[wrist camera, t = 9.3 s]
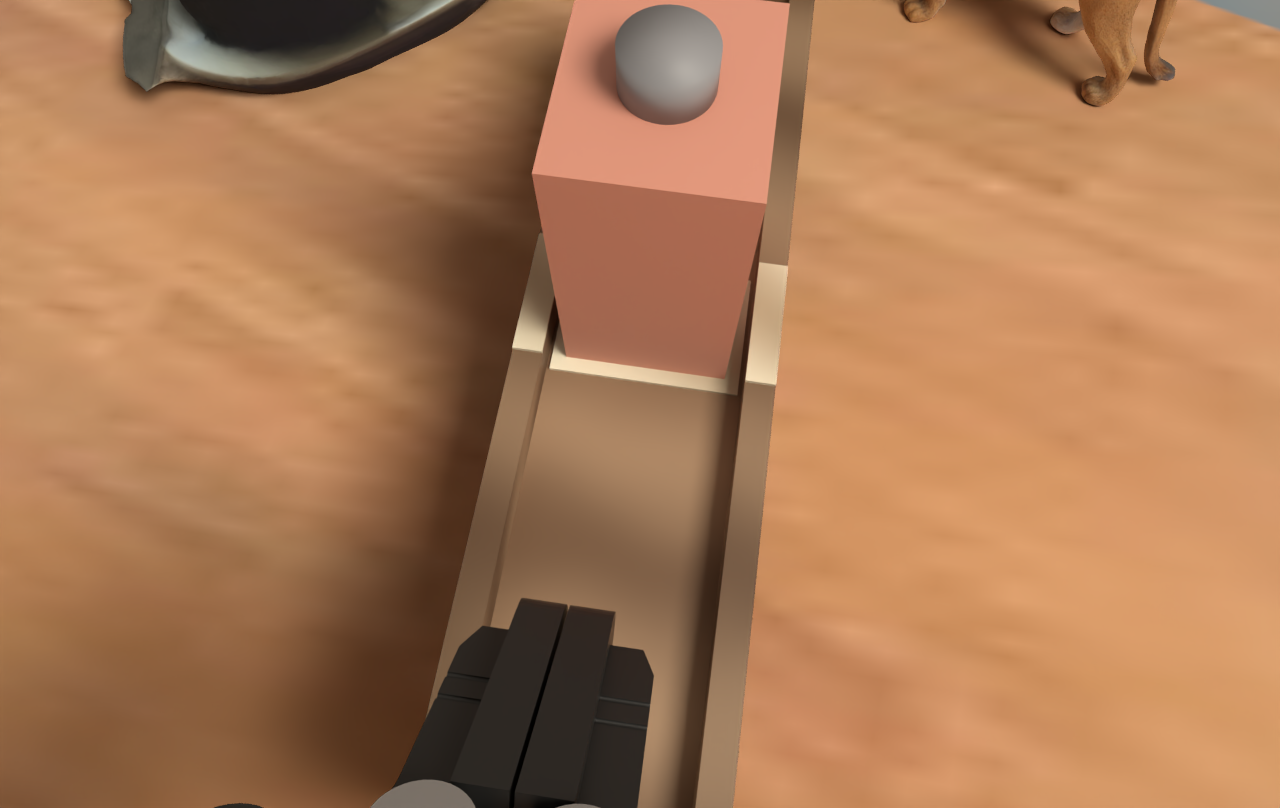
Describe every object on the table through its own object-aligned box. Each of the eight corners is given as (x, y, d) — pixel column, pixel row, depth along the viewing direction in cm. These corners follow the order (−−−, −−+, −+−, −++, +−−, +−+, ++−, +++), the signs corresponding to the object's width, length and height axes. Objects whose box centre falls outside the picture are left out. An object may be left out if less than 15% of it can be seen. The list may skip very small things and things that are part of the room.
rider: (724, 379, 23) (774, 169, 14) (566, 357, 23) (524, 137, 14) (743, 226, 24) (798, -40, 16) (597, 207, 25) (576, -64, 16)
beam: (694, 916, 23) (719, 995, 16) (446, 872, 23) (363, 930, 16) (784, 115, 33) (823, -52, 26) (612, 93, 33) (605, -76, 26)
